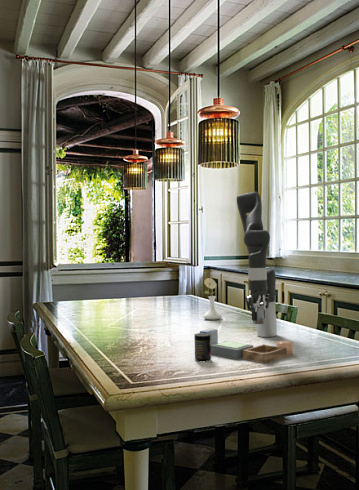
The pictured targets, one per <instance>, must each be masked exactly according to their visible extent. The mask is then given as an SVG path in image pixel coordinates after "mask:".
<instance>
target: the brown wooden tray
mask: <svg viewBox="0 0 359 490" xmlns="http://www.w3.org/2000/svg"><path fill="white" fill-rule="evenodd" d="M286 357H287V356H286V348H280V347H276V345H269V344H265V343H264V344H261V345H256V346H253V347H252V348H249V349H245V350H243V358H242V360H248V361H253V362H258V363H262V364H267V363H270V362H273V361H277V360H280V359H283V358H286Z"/></svg>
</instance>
